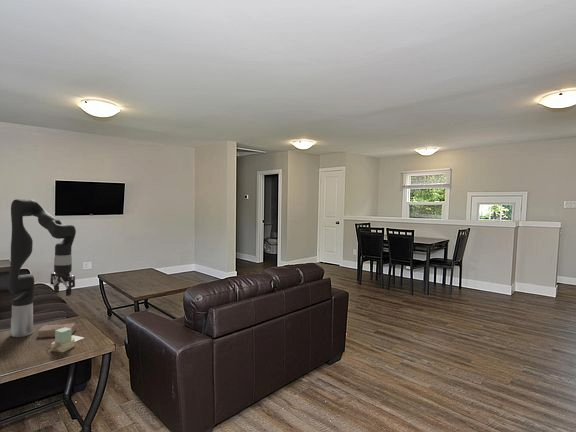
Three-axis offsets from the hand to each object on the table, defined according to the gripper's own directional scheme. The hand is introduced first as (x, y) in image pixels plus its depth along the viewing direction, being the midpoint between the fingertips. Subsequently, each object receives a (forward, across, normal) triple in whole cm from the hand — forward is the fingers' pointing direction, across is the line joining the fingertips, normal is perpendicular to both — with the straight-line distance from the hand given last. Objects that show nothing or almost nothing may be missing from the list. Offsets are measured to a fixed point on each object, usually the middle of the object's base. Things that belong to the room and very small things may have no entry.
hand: (62, 294), depth 172 cm
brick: (+28, -16, +10) cm, 34 cm away
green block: (+23, +4, -2) cm, 24 cm away
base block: (+27, +4, -2) cm, 28 cm away
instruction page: (+27, -2, +7) cm, 28 cm away
